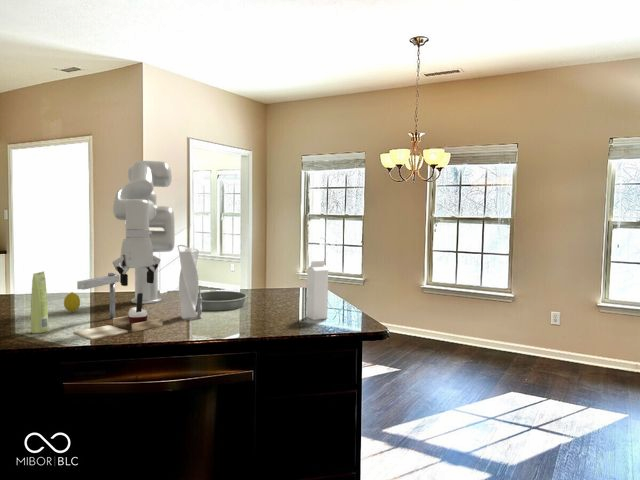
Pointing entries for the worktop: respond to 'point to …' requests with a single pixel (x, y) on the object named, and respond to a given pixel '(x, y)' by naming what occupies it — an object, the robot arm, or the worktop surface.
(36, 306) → the tube
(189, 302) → the skyscraper
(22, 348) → the worktop surface
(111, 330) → the pad
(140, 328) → the holder
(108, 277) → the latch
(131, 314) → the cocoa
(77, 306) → the lemon
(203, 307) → the cake pan
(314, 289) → the milk
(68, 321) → the worktop surface
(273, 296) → the worktop surface
